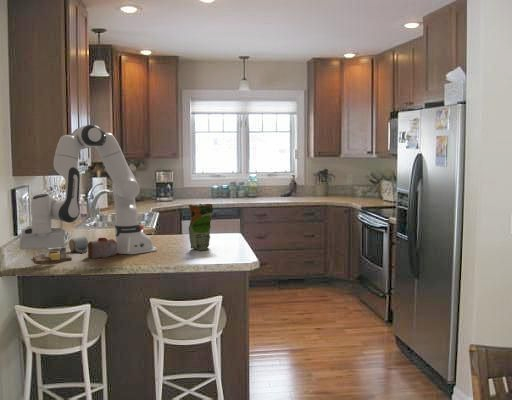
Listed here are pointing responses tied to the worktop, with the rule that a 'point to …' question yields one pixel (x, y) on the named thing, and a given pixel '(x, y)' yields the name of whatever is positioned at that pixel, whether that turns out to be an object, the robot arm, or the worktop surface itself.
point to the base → (63, 257)
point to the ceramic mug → (79, 244)
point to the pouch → (200, 226)
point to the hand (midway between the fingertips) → (42, 257)
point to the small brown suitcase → (102, 248)
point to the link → (54, 255)
